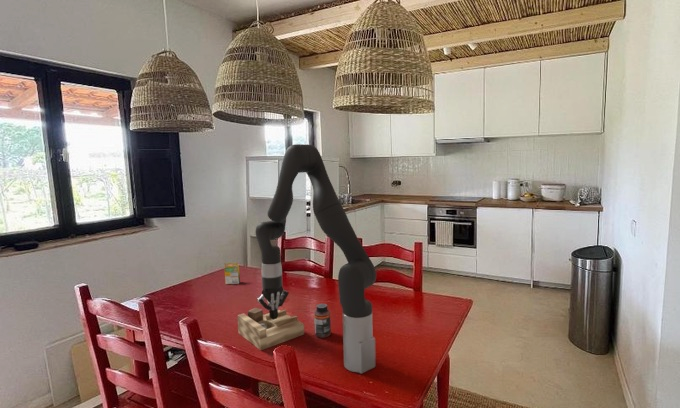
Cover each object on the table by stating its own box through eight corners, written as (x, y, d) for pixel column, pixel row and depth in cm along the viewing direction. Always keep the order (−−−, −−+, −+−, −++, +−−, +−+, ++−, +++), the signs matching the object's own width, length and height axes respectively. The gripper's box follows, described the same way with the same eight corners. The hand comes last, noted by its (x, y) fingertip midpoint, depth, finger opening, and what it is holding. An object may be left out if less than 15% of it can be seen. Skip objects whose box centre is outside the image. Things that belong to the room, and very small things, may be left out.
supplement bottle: (322, 329, 140) (321, 301, 139) (334, 333, 136) (333, 304, 135) (311, 335, 136) (310, 306, 134) (323, 340, 132) (322, 309, 131)
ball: (264, 323, 133) (255, 334, 131) (272, 330, 136) (263, 342, 133) (258, 318, 137) (249, 329, 135) (266, 326, 139) (257, 337, 137)
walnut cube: (263, 319, 141) (262, 309, 140) (255, 323, 138) (254, 313, 137) (256, 317, 143) (255, 307, 143) (248, 321, 140) (247, 311, 140)
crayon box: (240, 282, 201) (239, 261, 199) (239, 283, 198) (237, 263, 196) (226, 282, 200) (225, 262, 199) (225, 284, 197) (224, 263, 196)
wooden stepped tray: (304, 334, 137) (303, 316, 136) (260, 350, 125) (259, 331, 125) (279, 319, 150) (279, 302, 150) (238, 332, 139) (237, 315, 138)
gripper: (260, 280, 129) (262, 326, 131) (292, 272, 138) (294, 316, 140) (251, 275, 135) (253, 320, 137) (282, 268, 143) (283, 310, 145)
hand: (273, 318), depth 138 cm, fingers closed
